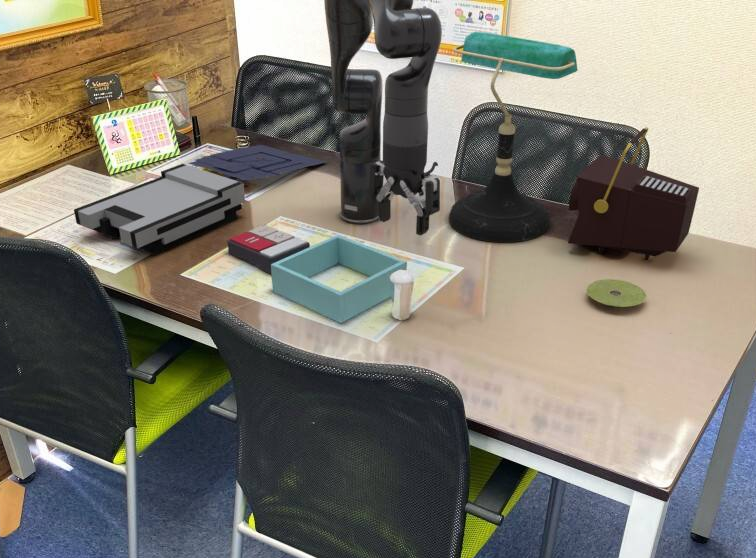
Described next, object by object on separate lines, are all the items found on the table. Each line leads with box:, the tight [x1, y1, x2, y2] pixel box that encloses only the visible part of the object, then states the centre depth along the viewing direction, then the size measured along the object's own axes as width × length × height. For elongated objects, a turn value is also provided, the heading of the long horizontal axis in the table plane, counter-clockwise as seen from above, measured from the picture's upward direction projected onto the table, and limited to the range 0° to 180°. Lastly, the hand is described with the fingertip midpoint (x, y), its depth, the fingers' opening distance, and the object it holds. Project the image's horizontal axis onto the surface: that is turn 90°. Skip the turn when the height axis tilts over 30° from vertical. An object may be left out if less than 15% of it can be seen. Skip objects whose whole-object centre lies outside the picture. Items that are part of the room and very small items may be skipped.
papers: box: [187, 144, 327, 181], centre depth 228 cm, size 24×30×4 cm
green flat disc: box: [586, 278, 647, 308], centre depth 169 cm, size 11×11×2 cm
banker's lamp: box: [448, 31, 578, 243], centre depth 189 cm, size 26×23×40 cm
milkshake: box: [386, 269, 415, 321], centre depth 162 cm, size 4×5×10 cm
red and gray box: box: [226, 224, 311, 275], centre depth 185 cm, size 11×4×15 cm
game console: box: [73, 163, 246, 256], centre depth 197 cm, size 21×32×8 cm, turn 141°
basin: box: [270, 234, 408, 324], centre depth 172 cm, size 19×19×6 cm
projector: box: [567, 126, 700, 262], centre depth 181 cm, size 16×23×25 cm
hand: (402, 227), depth 154 cm, fingers open, 8 cm apart
